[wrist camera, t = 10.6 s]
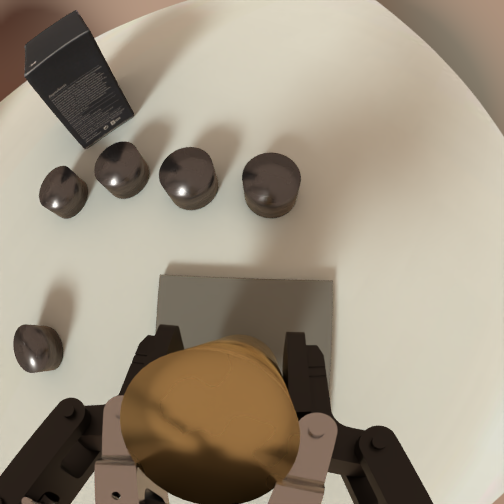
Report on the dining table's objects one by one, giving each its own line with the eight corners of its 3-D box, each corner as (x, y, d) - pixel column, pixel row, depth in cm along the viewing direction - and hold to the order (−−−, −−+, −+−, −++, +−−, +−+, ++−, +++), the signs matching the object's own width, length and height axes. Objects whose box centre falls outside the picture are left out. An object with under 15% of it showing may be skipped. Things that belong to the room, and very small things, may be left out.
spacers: (36, 408, 17) (17, 412, 14) (62, 167, 22) (48, 154, 19) (287, 460, 16) (290, 477, 13) (295, 155, 21) (298, 135, 18)
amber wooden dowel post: (200, 405, 15) (127, 488, 5) (201, 332, 16) (118, 339, 6) (276, 409, 15) (292, 509, 5) (280, 335, 16) (305, 353, 6)
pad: (158, 432, 16) (155, 435, 16) (162, 276, 19) (159, 274, 18) (321, 443, 16) (323, 446, 15) (330, 281, 18) (332, 280, 18)
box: (137, 115, 23) (89, 28, 12) (85, 151, 22) (21, 78, 12) (114, 78, 24) (76, 7, 14) (70, 108, 24) (22, 44, 13)
